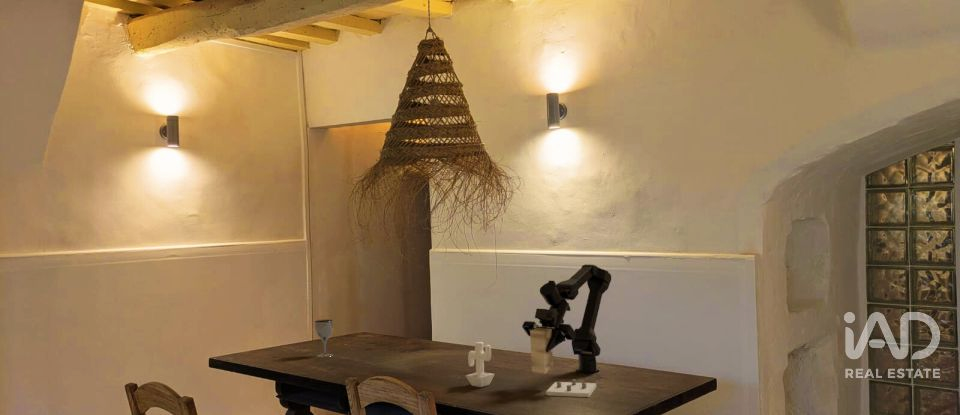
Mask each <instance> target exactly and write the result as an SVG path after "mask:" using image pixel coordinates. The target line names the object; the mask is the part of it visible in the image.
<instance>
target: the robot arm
mask: <svg viewBox="0 0 960 415" xmlns="http://www.w3.org/2000/svg"><path fill="white" fill-rule="evenodd" d="M611 282H612V274H611V273H610V272H609V271H608V270H605V269H604V268H601V267H598V266H597V265H596V264H587V263H586V264H584V265H582V266H581V267H580V268H579V269H578V270H577V271H576V273H574V274H573V275H572V276H571V277H570V278H568V279H565V280H562V281H560V282H558V283H556V281H555V280H548V282H546V283H544V284H543V285H542V286H540V288H539V293H540V295H541V297H542V298H543V299H544V301H545V303H546V304H547V305H548V306H549V308H548V309H547V308H536V310H535V314H534V318H535V319H537V320H539V321H538V323H539V324H541V325H538V324H537V323H536V322H535V321H534V320H533V321H532V320H531V321H530V320H526V321H524V322H523V324H522V326H521V327H522V329H523V330H524V332H525V333H526V334H527V335H528V337H530V330H533V329H537V328H546V329H552V336H551V338H550V341H549V343H548V345H547V348H546V352H549V351H550V350H552V351H553V349H554V348H555V347H557V346H558V345H560V344H561V343H563V342H566V340H567V341H571V347H572V352H573V355H576V356H577V355H578V357H577V358H578V368H577V369H575V372H579V373H583V374H591V373H598V372H600V369H598V368H597V359H596V358H597V357H599V356H600V355H601V347H600V346H599V344H598V342H597V339H598V338H597V336H596V333H595V327H596V323H597V319H598V314H599V310H600V306H601V302H602V298H603V294H604V293H605V292H606V291H608V290H609V286H610V284H611ZM585 284H587V286H588V290H589V291H588V292H589V293H588V296H587V300H586V304H585V308H584V313H583V317H582V321H581V325H580V326H579V328H575V329H574V328H573V327H572V325H571V324H570V323H565V320H564V318H565V315H566V312H571V306H570V303H569V302H568V301H573V300H575V299H576V298H577V296H578V295H579V294H580V293H579V292H580V291H579V290H580V288H581V287H583V286H584V285H585Z"/></svg>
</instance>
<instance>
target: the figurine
mask: <svg viewBox="0 0 960 415" xmlns="http://www.w3.org/2000/svg"><path fill="white" fill-rule="evenodd" d="M474 344H475V345H474V350H469V352H468V355H467V358H468V359H467V361H468V366H469V367H474V366H475V372H473V373H470V374H469V373H468V374H466V375H465V377H466V379H467V380H468V382H469V383H470V385H471V387H478V388H484V387H487V386H489V385H490V384H491V382H492V381H493V378H494V376H495V373H493V372H491V373H490V372H485V362H489V361H490V360H491V359H492V346H491V345H490V344H486V345H484V342H483V341H475V342H474ZM484 346H485V347H484Z"/></svg>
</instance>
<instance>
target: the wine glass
mask: <svg viewBox="0 0 960 415" xmlns="http://www.w3.org/2000/svg"><path fill="white" fill-rule="evenodd" d="M313 324H314V330H315V334H316V336H318V338H319V339H320V340H321V342H322V344H323V353H321V354H318V355H316V357H317V358H331V357H333V355H334V354H332V353H327V348H326V347H327V342H328V340H329V339H330V337H331V336H332V335H333V332H334V319H316V320H314V323H313Z"/></svg>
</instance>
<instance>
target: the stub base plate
mask: <svg viewBox="0 0 960 415" xmlns="http://www.w3.org/2000/svg"><path fill="white" fill-rule="evenodd" d="M596 388H597V383H595V382H594V383H593V382H592V383H591V382H577V379H575V378H574V379H571V382H566V381H555V382H554V383H553V384H551V386H550V387H549V388H548V389H547V390H546V391H545V394H546V396H555V397H578V398H590V396H592V393H593V392H594V391H595V390H596Z"/></svg>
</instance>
